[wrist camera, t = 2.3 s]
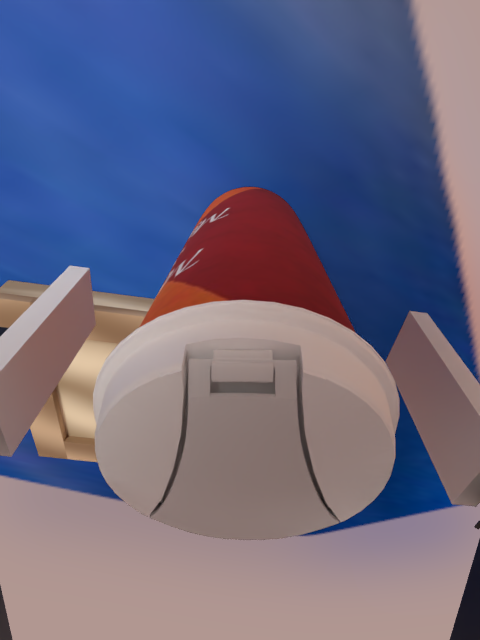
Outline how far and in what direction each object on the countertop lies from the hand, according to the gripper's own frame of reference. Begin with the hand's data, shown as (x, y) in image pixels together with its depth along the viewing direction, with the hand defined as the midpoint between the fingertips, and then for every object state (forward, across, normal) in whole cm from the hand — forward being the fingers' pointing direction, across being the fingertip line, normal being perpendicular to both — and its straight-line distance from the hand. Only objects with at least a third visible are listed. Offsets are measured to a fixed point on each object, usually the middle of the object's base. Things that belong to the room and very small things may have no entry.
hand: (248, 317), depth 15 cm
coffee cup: (+8, 0, 0) cm, 8 cm away
